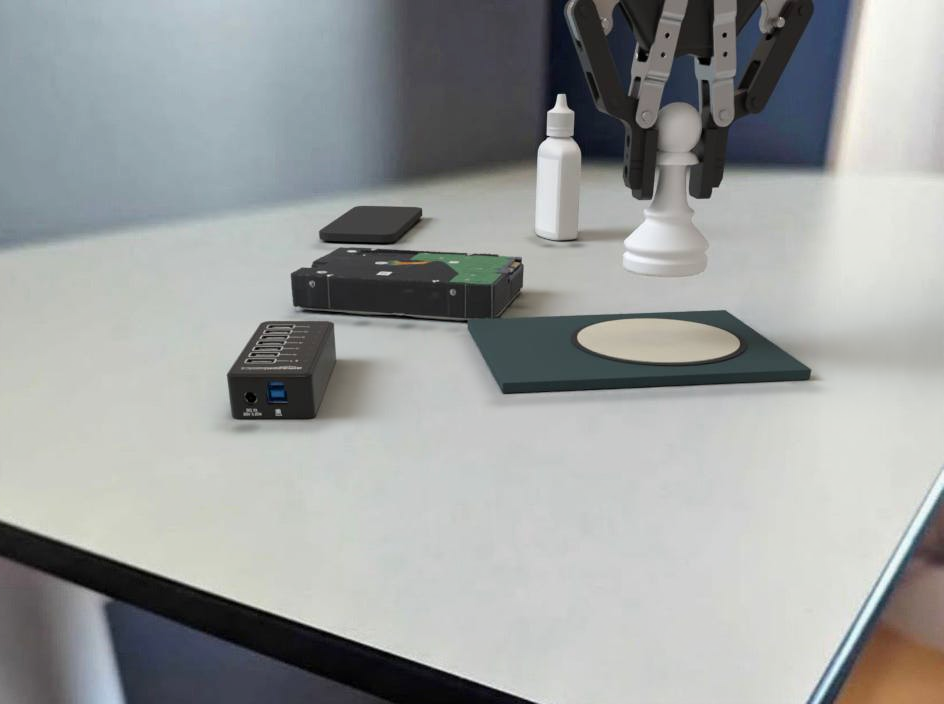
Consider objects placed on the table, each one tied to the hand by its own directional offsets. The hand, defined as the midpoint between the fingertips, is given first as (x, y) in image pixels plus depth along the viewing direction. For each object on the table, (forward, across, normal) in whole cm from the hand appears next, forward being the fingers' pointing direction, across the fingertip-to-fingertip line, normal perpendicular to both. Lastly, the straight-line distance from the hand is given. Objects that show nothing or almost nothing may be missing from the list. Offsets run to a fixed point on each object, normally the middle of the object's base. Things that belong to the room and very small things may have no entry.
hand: (671, 196), depth 60 cm
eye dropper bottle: (+9, +2, +39) cm, 40 cm away
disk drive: (+9, -14, +15) cm, 22 cm away
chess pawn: (+4, 0, 0) cm, 4 cm away
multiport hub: (+9, -23, -4) cm, 25 cm away
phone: (+9, -16, +45) cm, 48 cm away
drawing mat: (+9, -2, 0) cm, 9 cm away
